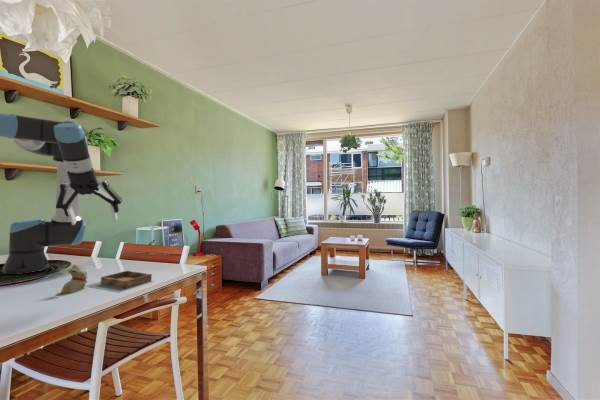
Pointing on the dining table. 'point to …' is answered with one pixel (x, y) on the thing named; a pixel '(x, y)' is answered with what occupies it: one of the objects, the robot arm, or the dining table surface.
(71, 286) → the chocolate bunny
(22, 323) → the dining table surface
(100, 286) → the mat
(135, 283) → the brown wooden tray
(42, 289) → the dining table surface
